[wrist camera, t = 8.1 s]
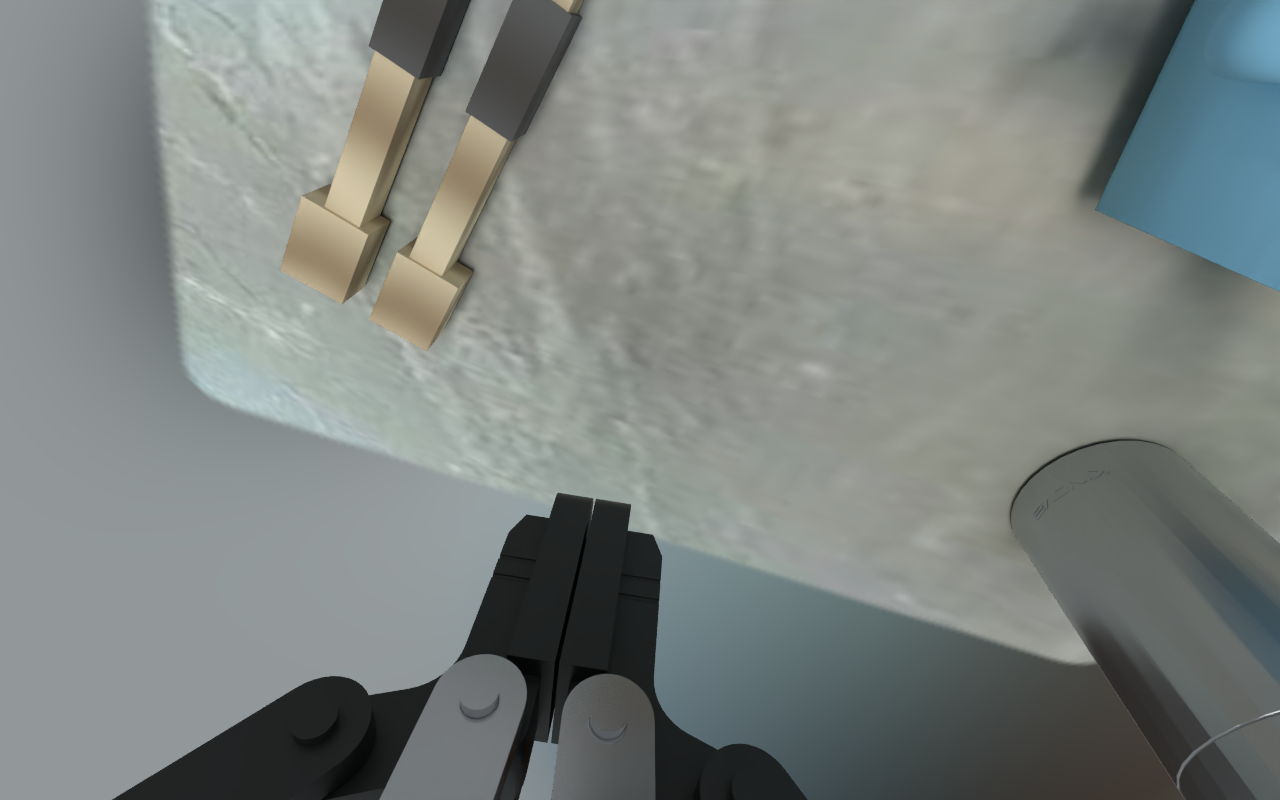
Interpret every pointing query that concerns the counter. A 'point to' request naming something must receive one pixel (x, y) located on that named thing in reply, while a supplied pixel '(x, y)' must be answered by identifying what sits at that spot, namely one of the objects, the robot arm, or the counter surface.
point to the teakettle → (1211, 142)
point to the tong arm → (475, 168)
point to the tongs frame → (372, 149)
